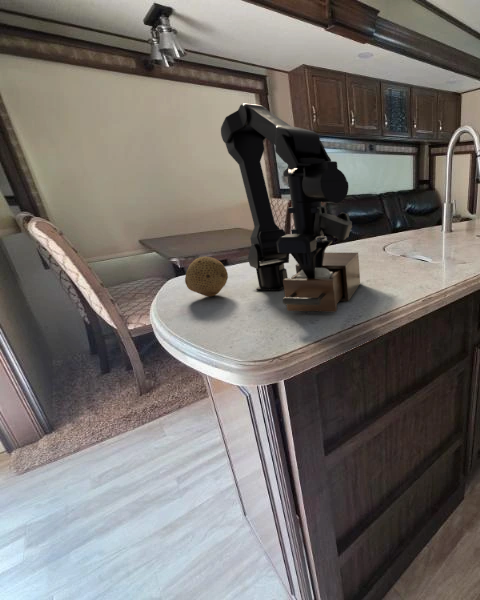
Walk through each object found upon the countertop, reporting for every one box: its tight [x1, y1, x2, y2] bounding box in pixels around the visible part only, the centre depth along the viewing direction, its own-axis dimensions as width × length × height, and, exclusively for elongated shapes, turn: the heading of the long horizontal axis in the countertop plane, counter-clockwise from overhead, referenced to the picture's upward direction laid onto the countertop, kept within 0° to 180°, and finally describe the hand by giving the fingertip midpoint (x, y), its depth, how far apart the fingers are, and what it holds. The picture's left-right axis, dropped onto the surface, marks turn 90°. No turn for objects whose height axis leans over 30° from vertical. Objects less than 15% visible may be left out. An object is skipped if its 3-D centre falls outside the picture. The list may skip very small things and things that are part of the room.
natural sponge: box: [184, 256, 229, 298], centre depth 76 cm, size 9×9×10 cm
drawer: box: [282, 269, 345, 313], centre depth 68 cm, size 17×10×7 cm, turn 175°
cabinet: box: [295, 252, 361, 302], centre depth 79 cm, size 14×12×9 cm
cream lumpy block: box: [296, 268, 333, 279], centre depth 67 cm, size 7×4×3 cm, turn 85°
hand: (315, 277), depth 68 cm, fingers closed on cream lumpy block, 4 cm apart
